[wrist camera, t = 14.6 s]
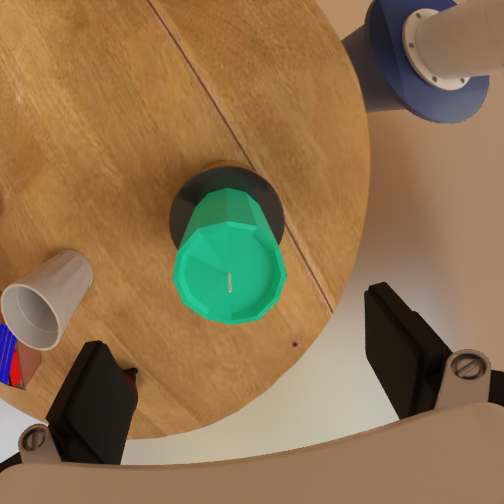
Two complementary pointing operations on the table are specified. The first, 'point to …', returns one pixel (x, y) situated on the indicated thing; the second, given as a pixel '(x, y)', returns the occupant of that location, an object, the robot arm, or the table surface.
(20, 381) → the house
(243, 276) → the candle
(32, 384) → the table surface
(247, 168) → the jar
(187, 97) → the table surface
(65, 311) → the cup
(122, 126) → the table surface
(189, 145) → the table surface
